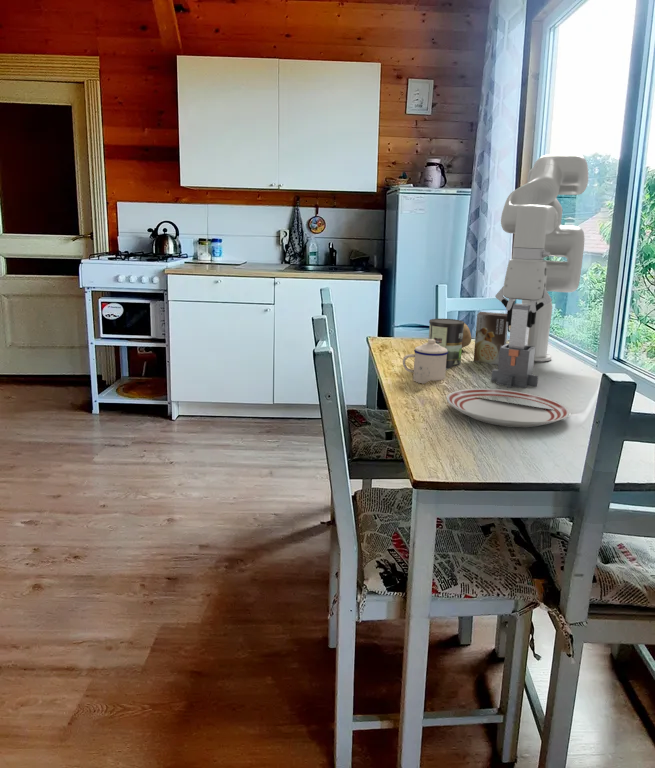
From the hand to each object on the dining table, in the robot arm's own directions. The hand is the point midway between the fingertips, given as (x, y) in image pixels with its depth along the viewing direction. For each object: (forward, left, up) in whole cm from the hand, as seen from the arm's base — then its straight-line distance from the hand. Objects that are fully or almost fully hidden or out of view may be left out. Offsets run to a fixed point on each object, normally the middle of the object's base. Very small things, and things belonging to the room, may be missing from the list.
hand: (520, 325), depth 168 cm
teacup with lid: (+7, -23, -17) cm, 30 cm away
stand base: (0, 0, -17) cm, 17 cm away
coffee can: (-13, -24, -17) cm, 32 cm away
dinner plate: (+26, +4, -18) cm, 32 cm away
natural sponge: (-42, -29, -17) cm, 54 cm away
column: (0, 0, -16) cm, 16 cm away
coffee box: (-24, -13, -17) cm, 32 cm away
